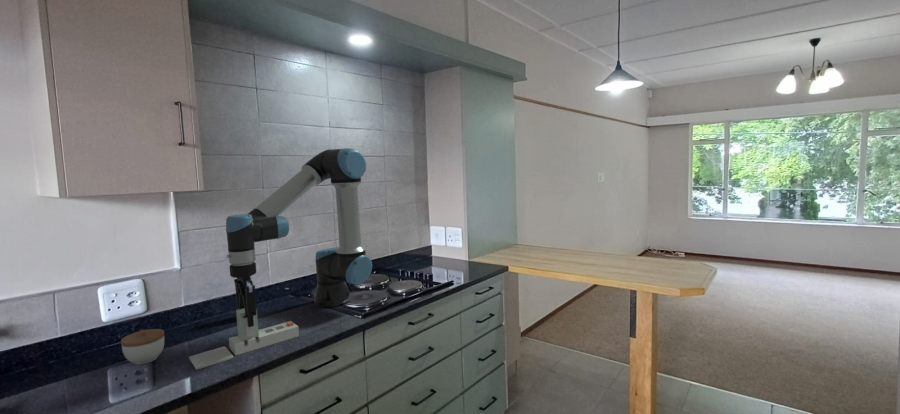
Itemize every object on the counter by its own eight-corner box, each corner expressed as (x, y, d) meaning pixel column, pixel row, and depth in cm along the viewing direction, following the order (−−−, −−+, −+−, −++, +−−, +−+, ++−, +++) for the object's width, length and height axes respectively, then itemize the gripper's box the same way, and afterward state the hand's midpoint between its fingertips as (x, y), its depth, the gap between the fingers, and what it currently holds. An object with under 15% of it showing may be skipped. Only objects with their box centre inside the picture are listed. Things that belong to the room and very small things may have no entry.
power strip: (291, 330, 145) (290, 318, 145) (299, 336, 140) (298, 324, 140) (229, 348, 132) (228, 335, 132) (235, 355, 127) (234, 342, 126)
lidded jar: (118, 371, 119) (114, 340, 118) (129, 356, 129) (126, 327, 128) (162, 363, 123) (158, 333, 122) (170, 349, 133) (167, 321, 132)
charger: (254, 336, 136) (252, 306, 135) (259, 340, 133) (256, 309, 131) (238, 341, 133) (236, 310, 131) (242, 345, 129) (240, 313, 128)
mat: (225, 348, 132) (224, 346, 132) (233, 358, 125) (233, 356, 125) (189, 358, 126) (189, 356, 126) (196, 369, 118) (195, 368, 118)
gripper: (222, 260, 134) (228, 329, 136) (237, 270, 121) (244, 345, 123) (246, 256, 139) (252, 322, 141) (264, 265, 126) (269, 337, 128)
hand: (248, 333), depth 132 cm, fingers open, 4 cm apart
